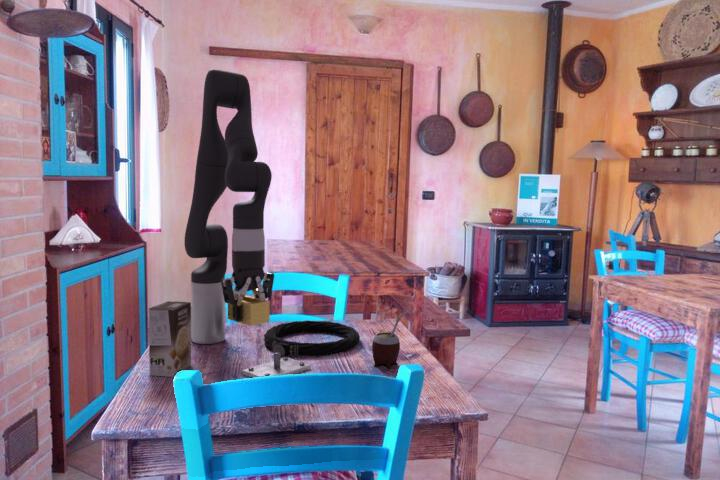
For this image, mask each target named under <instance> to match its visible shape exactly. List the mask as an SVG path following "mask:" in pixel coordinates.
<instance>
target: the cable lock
mask: <svg viewBox="0 0 720 480" xmlns="http://www.w3.org/2000/svg"><path fill="white" fill-rule="evenodd" d="M324 332H326V334H333V333H334V335H336V334H337V336H339V335H340V336H339V337H344V338H342V339H337V340H336V341H328V342H327V341H326V342H298V341H290V340H286V339H282V338H281V337H283V336H287V335H291V334H299V333H324ZM360 338H361V336H360V333H359V332H358V331H357V330H356V329H355V328H354V327H351V326H349V325H345V324H342V323H339V322H333V321H323V320H321V321H318V320H317V321H316V320H303V321H302V320H299V321H291V322H287V323H286V322H285V323H281V324H277V325H274V326H272V327H271V328H270V329H267V330H266V333H264V334H263V341H264V345H265V346H266V347H268V348H269V349H270V350H272V351H273V354H274V353H276V352H279V353H280V358H284V357H288V358H289V356H290V357H323V356H334V355H337V354H342V353H347V352H349V351H350V350H353V349H354V348H355V347H356V346H358V344H359V342H360Z"/></svg>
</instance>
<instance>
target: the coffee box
mask: <svg viewBox="0 0 720 480" xmlns="http://www.w3.org/2000/svg"><path fill="white" fill-rule="evenodd" d="M191 306H192V302H189V301H178V300H177V301H170V300H169V301H168V300H167V301H165V302H162V303H159V304H157V305H155V306H152V307H149V308H148V337H149V339H148V344H149V346H148V348H149V352H148V354H149V356H148V357H149V361H148V362H149V376H153V377H154V376H155V377H169V378H173V377H175V376H174V375H175V374H176V373H177V372H179V371H181V370H183V371H185V370H187V369H188V368H189V367H190V366H192V339H191Z"/></svg>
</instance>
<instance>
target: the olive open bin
mask: <svg viewBox="0 0 720 480" xmlns="http://www.w3.org/2000/svg"><path fill="white" fill-rule="evenodd" d="M270 302H271V301H270V300H268V299H265V300H264V299H260V298H256V297H254V296H251V295H247V294H246V295H245V297H243V300H242V303H241V305H240V306H242V321H239V322H238V321H235V320H234V319H233V309H232V304H229V303H227V319H228V320H231V321H234V322H237V323H239V324H240V323H241V324H244V325H247V326H250V327H252V326H257V325H262V324H266V323H270V319H271V318H270V317H271V315H270V314H271V313H270V312H271V310H270V306H271V305H270V304H271V303H270Z"/></svg>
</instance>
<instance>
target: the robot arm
mask: <svg viewBox="0 0 720 480" xmlns="http://www.w3.org/2000/svg"><path fill="white" fill-rule="evenodd" d="M248 79H249V78H247V77H246V75H244V74H241V73H238V72H234V71H228V70H222V69H217V68H211V69H209V70H208V71H207V73H206V76H205V79H204V86H203V87H204V88H203V99H202V115H201V116H202V117H201V130H200V138H199V144H198V150H197V158H196V164H195V173H194V183H193V192H192V197H191V203H190V204H191V205H190V209H189V214H188V217H187V218H188V219H187V221H186V222H187V223H186V227H185V234H184V245H183V246H184V250H185V253H186V255H187V256H188V257H189V258H192V259H205V258H206V259H205V262H204V263H203V264H202V265H200V266H199V267H197V268H195V269H193V270H192V272H191V274H190V279H191V280H190V286H191V288H190V289H191V290H190V291H191V294H190V295H191V343H194V344H199V345H200V344H201V345H208V344H209V345H212V344H213V345H214V344H217V343H222V342H223V341H225V340H226V330H225V329H226V304H228V303H229V304H232V309H233V319H234V320H235V321H234V322H236V321H238V322H237V323H239V321H242V306H240V305H241V303H242V300H243V297H245V295H247V292H250V291H251V293H252V294H253V297H256V298H260V299H264V300H268V298H269V299H271V297H272V293H273V287H274V282H275V274H274V273H273V272H267V271H264V267H265V266H266V264H265V263H266V259H265V256H266V255H265V254H266V251H265V250H266V249H265V247H266V246H265V245H266V244H265V243H266V241H265V238H266V237H265V230H264V229H265V228H264V227H265V226H264V223H265V222H264V219H265V218H264V217H265V216H264V215H265V213H264V212H265V205H266V200H267V196H268V193H269V190H270V187H271V184H272V175H273V174H272V171H271V167H270V166H269V165H268V164H267V163H266V162H263V161H256V159H257V158H258V155H259V154H258V147H257V143H256V138H255V135H254V131H253V130H254V129H253V118H252V116H253V114H252V99H251V97H252V96H251V87H250V82H249V80H248ZM218 107H220V108H227V109H233V110H234V109H235V110H237V112H236V113H235V115H234V117H232V119H231V120H230V121H229V123H227V125H226V128H225V131H224V135H223V133H222V130H221V127H220V125H219V121H218ZM227 188H228V190H229V191H232V192H235V193H254V194H253V196H252V197H251V199H249V200H247V201H242V202H238V203H235V204H234V205H233V207H232V236H231V268H232V270H233V271H232V274H231V276H229V277H226V273H227V270H228V250H229V243H228V242H229V241H228V240H229V238H228V234H227V230H226V229H225V228H224V226H222V225H221V224H217V223H213V224H207V223H208V220H209V216H210V213H211V211H212V209H213V208H214V206H215V205H216V203H217V202H218V200H219V199H220V198H221V197H222V195H223V193H224V192H225V191H226V189H227ZM234 284H235V285H234Z"/></svg>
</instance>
